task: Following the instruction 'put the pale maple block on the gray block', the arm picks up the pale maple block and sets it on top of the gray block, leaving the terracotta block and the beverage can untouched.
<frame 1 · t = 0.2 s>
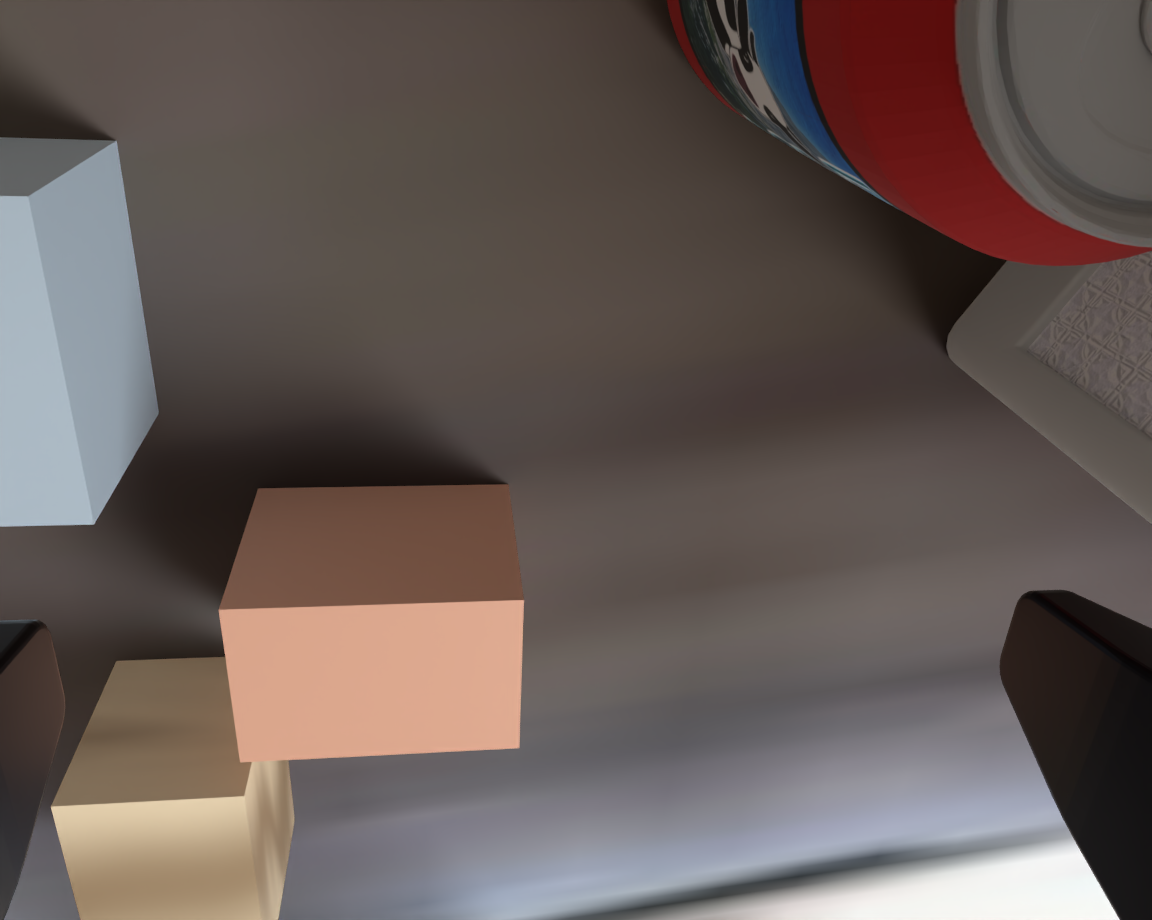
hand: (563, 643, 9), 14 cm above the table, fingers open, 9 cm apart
terracotta block: (388, 553, 25), on the table
gray block: (41, 283, 21), on the table
maple block: (211, 743, 27), on the table
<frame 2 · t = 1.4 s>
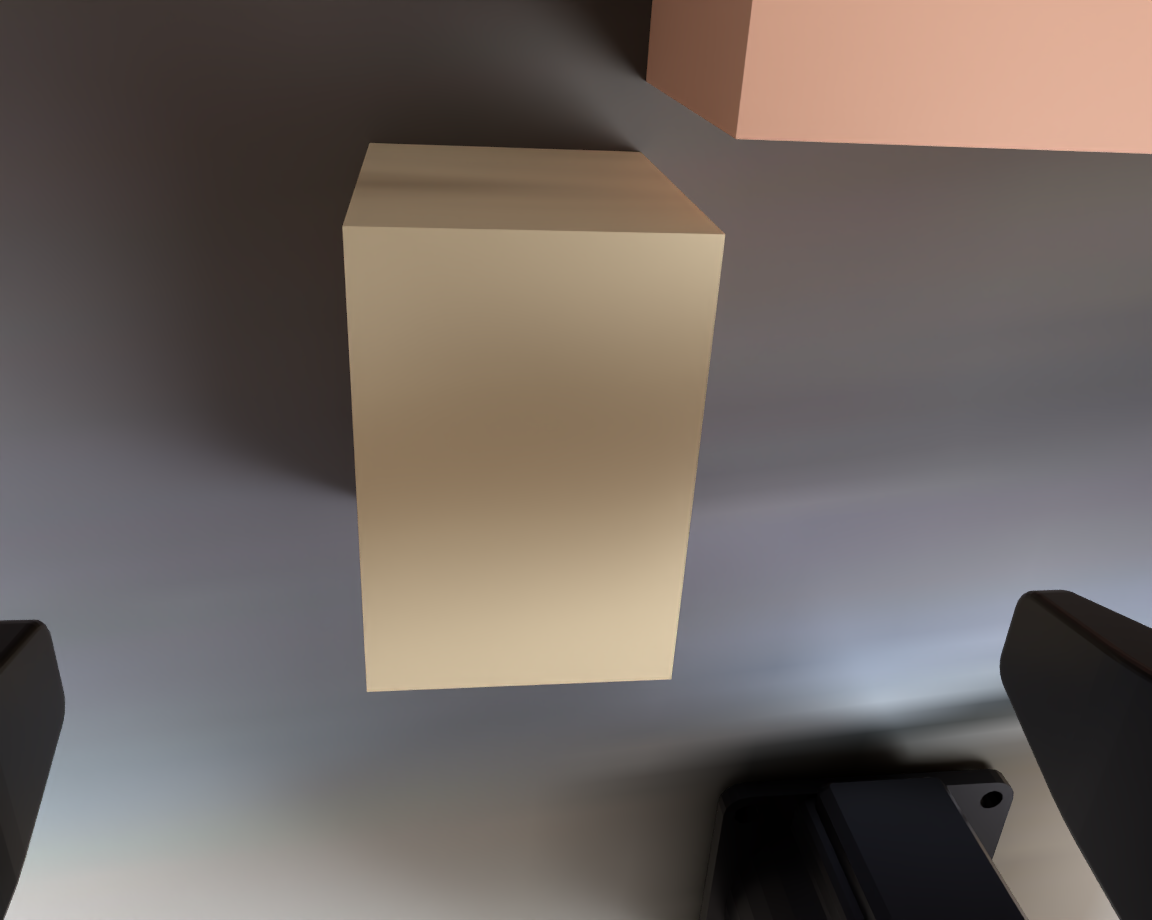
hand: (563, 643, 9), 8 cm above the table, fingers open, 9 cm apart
maple block: (503, 337, 16), on the table
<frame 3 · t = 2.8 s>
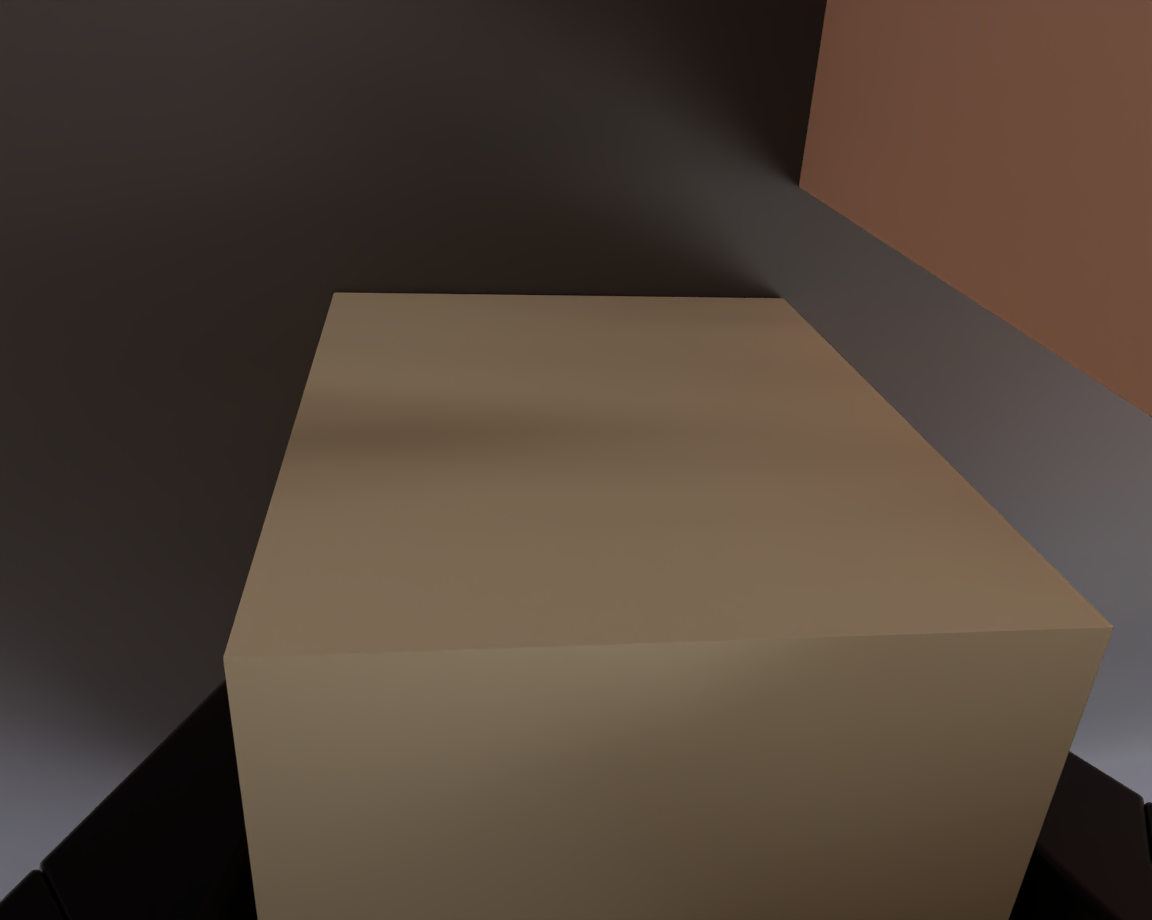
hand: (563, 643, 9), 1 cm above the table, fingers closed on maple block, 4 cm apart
maple block: (551, 580, 10), on the table, touching gripper
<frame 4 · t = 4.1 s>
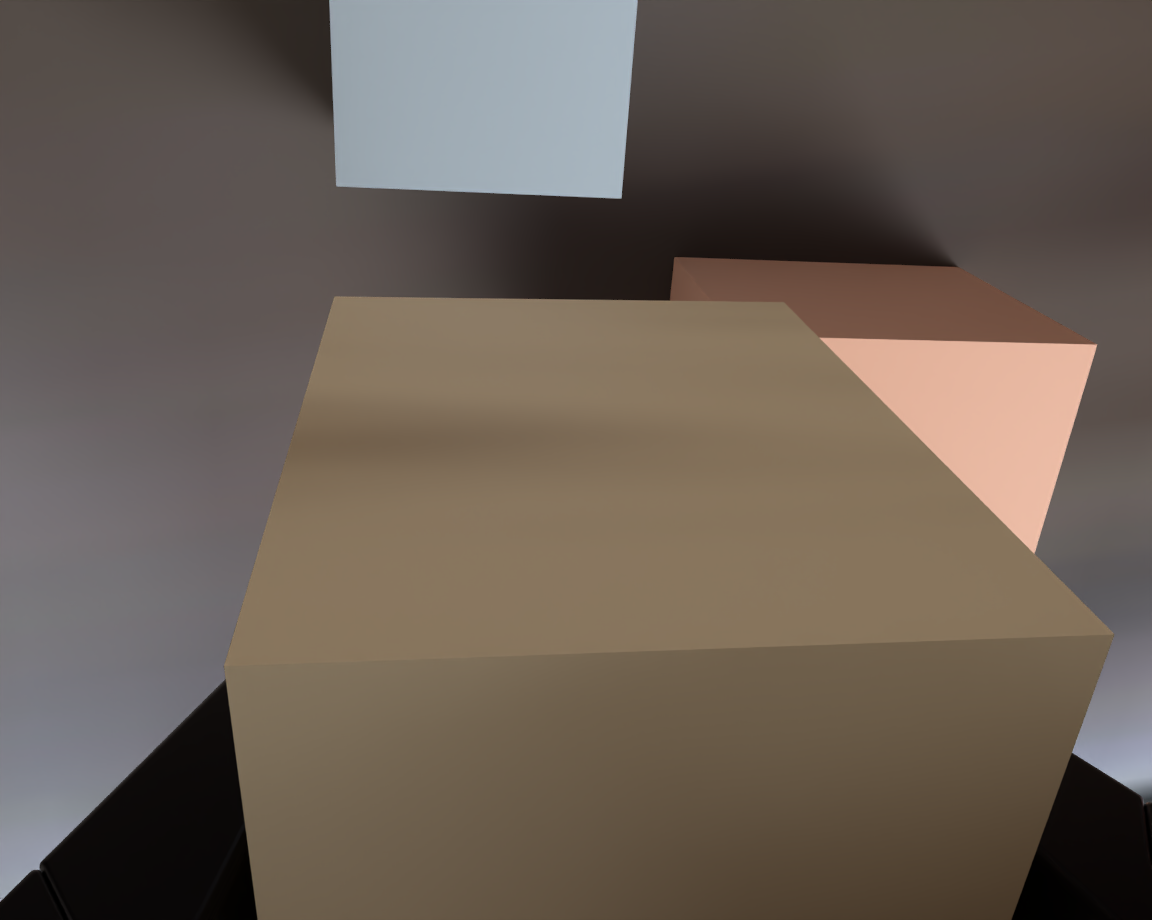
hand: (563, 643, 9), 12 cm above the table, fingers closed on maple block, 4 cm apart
terracotta block: (802, 354, 21), on the table
maple block: (551, 583, 10), point 11 cm above the table, touching gripper
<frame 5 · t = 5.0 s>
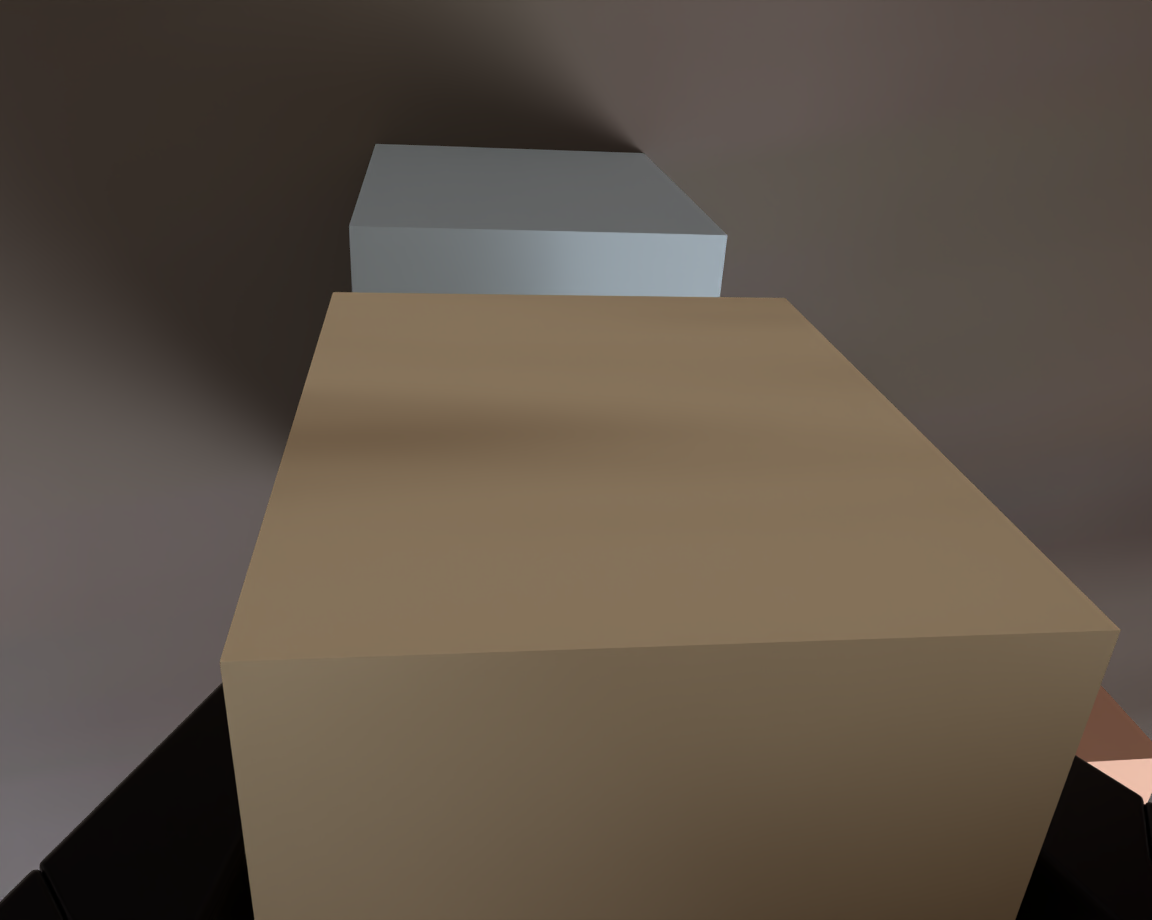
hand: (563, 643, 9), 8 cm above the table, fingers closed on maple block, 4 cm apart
terracotta block: (842, 663, 20), on the table
gray block: (507, 337, 16), on the table
maple block: (551, 581, 10), point 7 cm above the table, touching gripper
when the fingers open (7 cm above the table, at t = 5.4 s): maple block drops 1 cm, resting on gray block.
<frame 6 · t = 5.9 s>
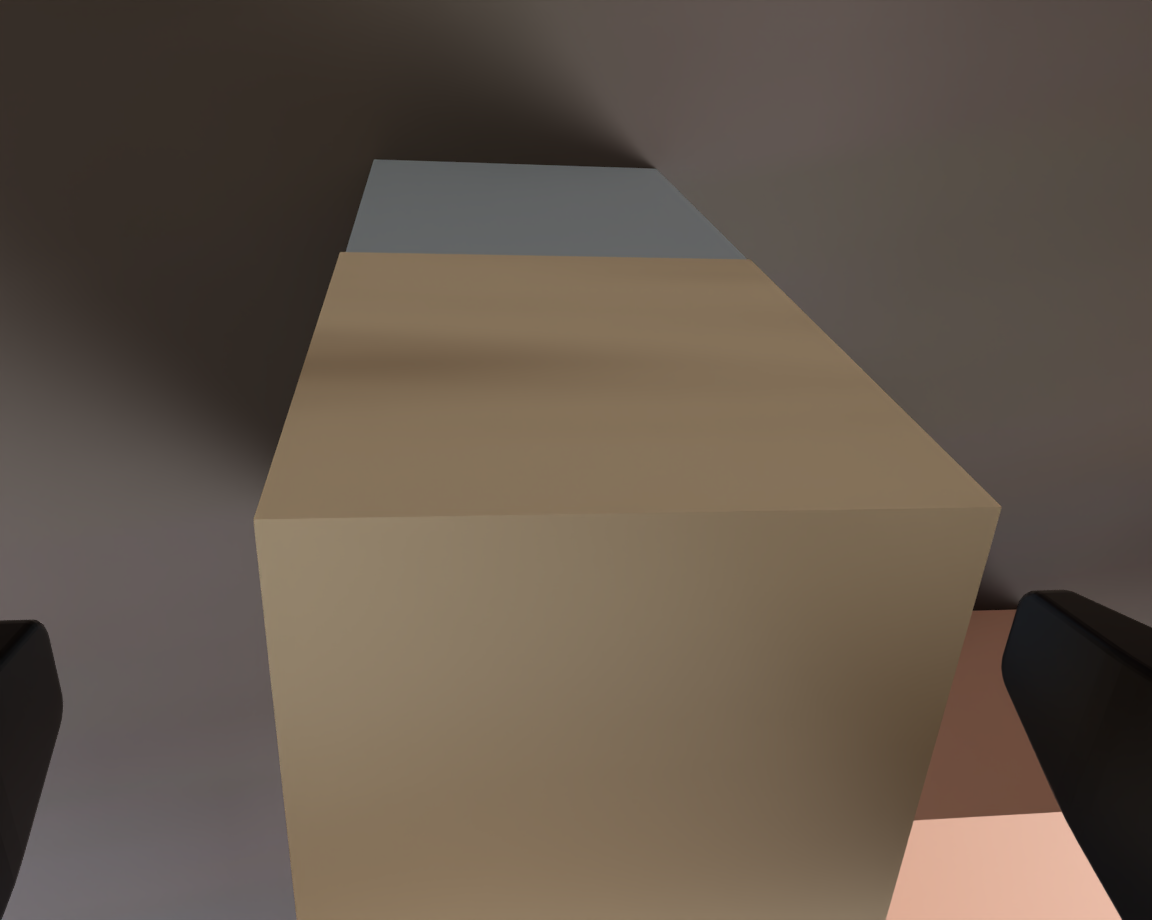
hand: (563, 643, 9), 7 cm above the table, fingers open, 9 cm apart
terracotta block: (859, 694, 20), on the table
gray block: (512, 362, 15), on the table, touching maple block
maple block: (539, 522, 11), point 5 cm above the table, touching gray block
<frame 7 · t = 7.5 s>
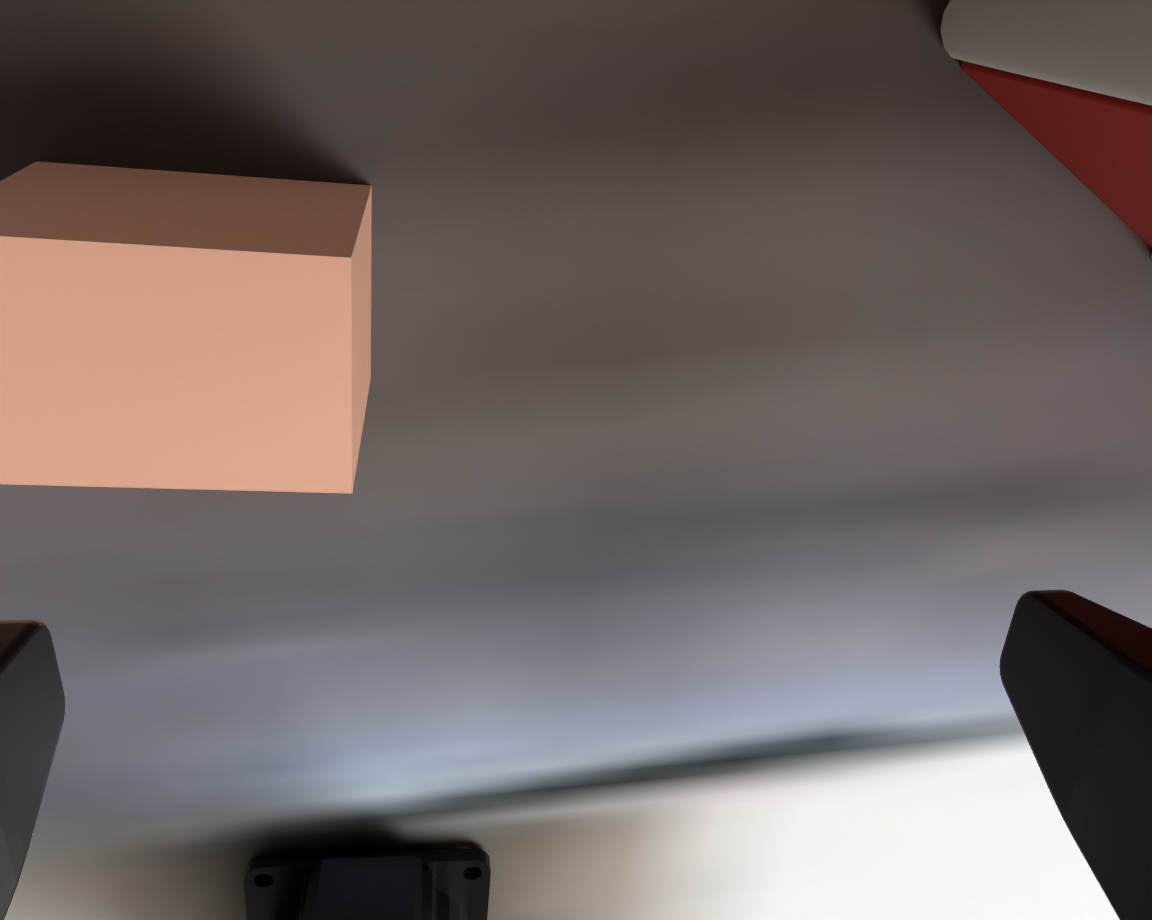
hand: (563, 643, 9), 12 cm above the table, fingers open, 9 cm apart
terracotta block: (215, 276, 20), on the table
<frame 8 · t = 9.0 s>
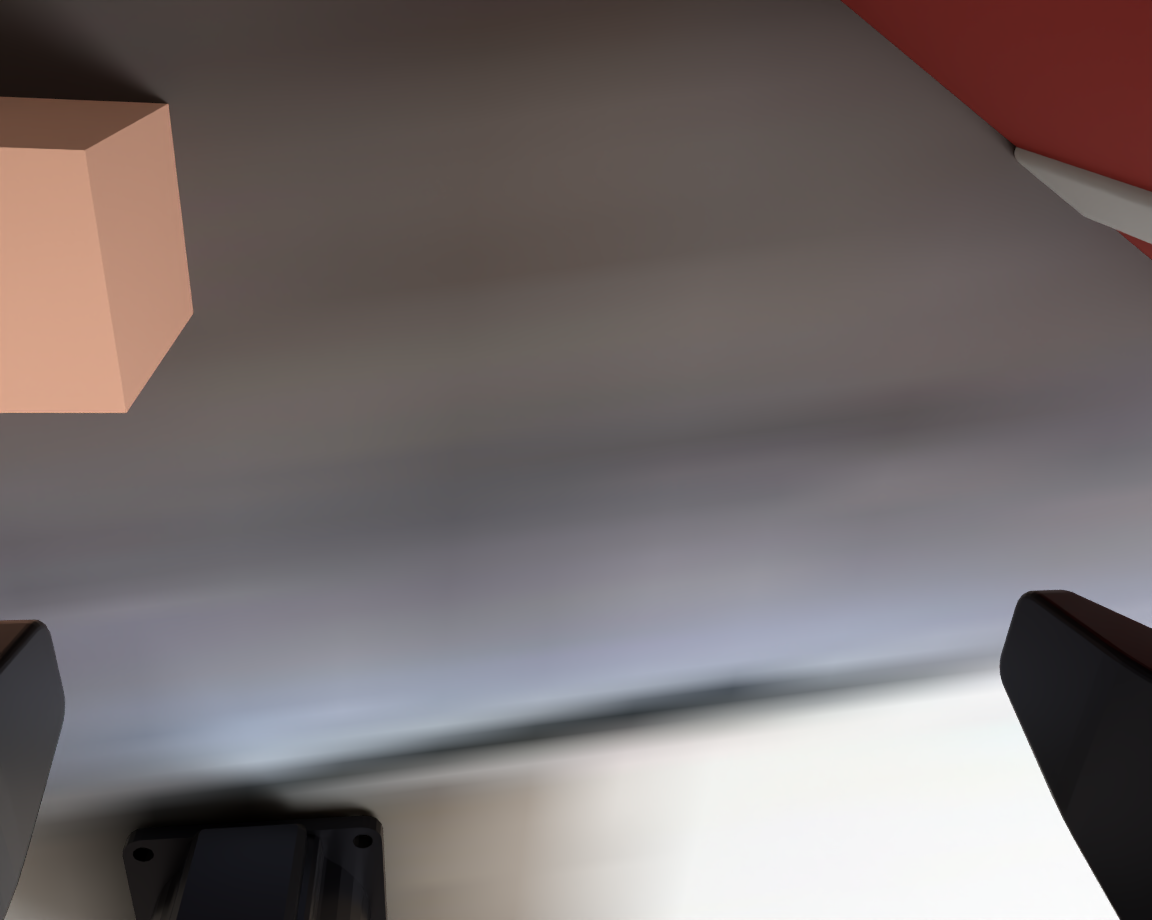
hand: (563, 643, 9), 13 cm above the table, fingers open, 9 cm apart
terracotta block: (16, 207, 19), on the table
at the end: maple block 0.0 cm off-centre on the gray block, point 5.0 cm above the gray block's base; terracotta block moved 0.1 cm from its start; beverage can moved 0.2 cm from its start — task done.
